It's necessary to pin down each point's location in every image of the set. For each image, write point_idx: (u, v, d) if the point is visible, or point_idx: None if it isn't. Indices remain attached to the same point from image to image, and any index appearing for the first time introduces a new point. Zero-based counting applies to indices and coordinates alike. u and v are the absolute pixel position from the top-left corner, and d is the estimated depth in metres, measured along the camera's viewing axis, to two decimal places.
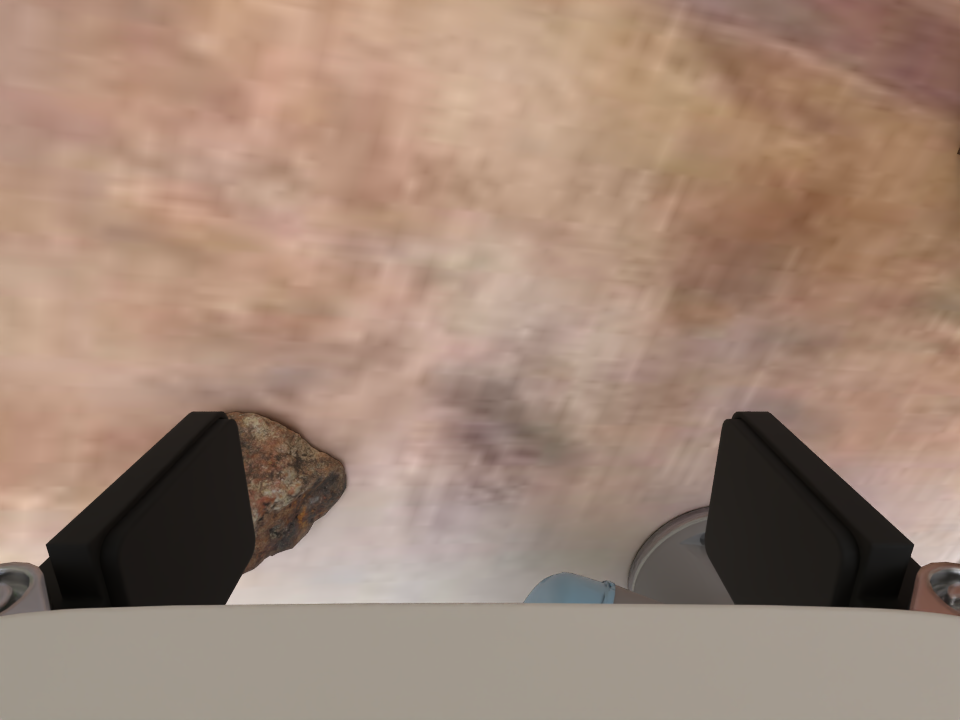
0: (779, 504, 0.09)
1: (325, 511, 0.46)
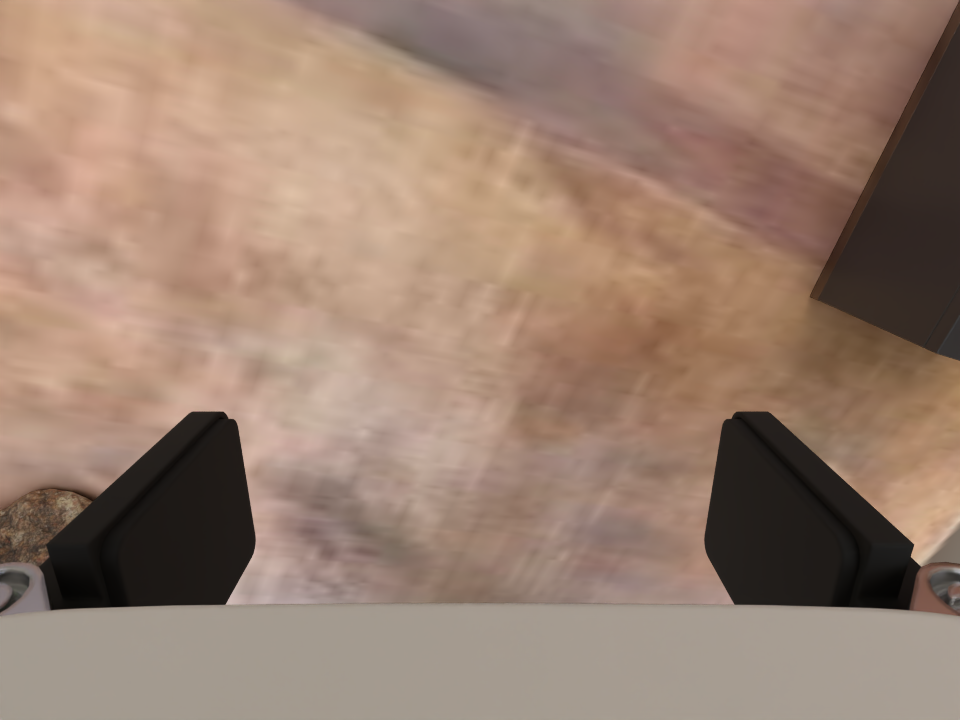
0: (779, 504, 0.09)
1: None
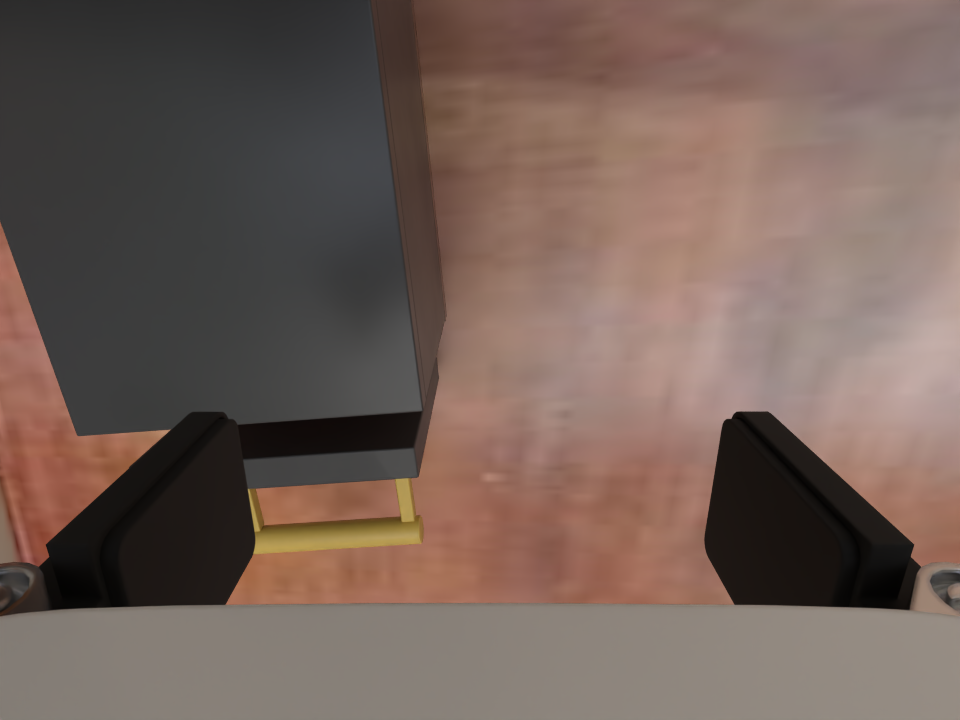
0: (779, 504, 0.09)
1: None
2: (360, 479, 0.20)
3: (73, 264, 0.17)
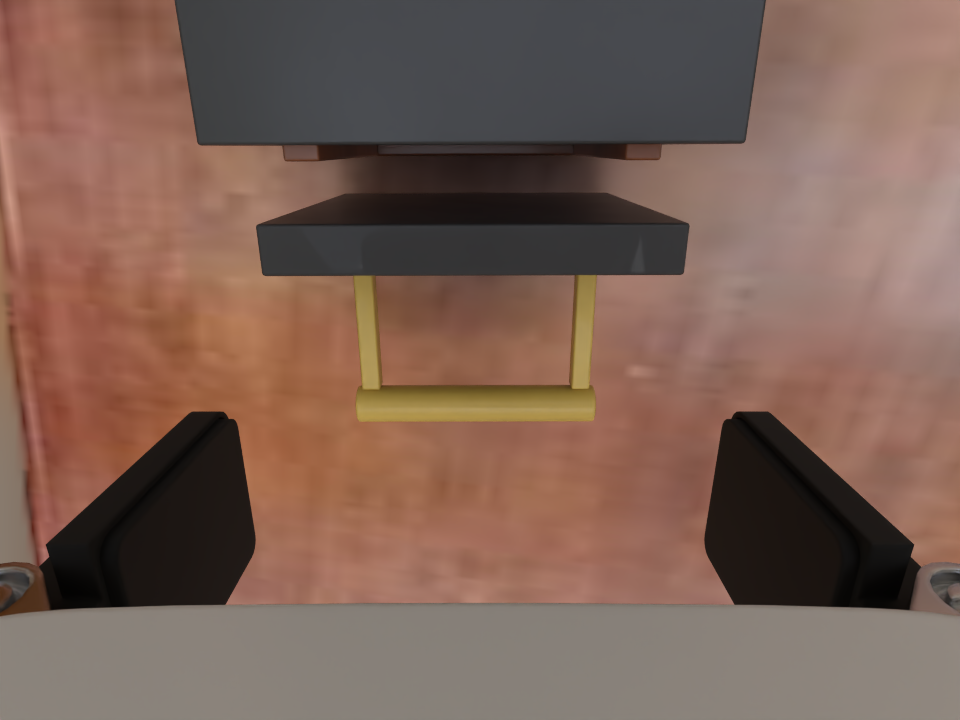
0: (779, 504, 0.09)
1: None
2: (598, 271, 0.14)
3: None
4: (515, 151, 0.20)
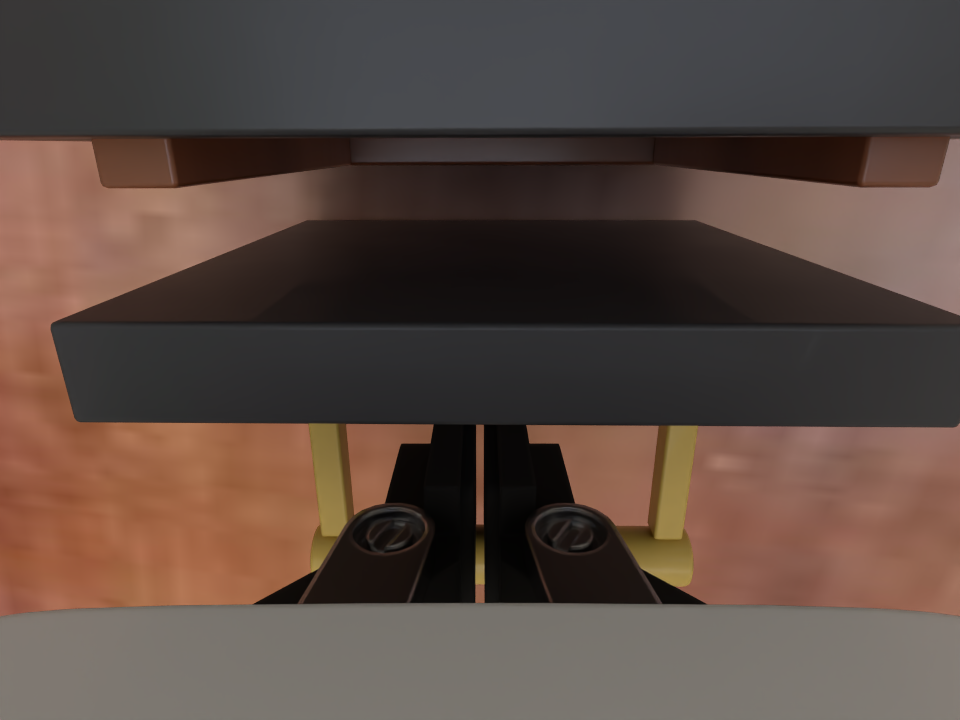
0: None
1: None
2: (778, 419, 0.06)
3: None
4: (563, 158, 0.13)
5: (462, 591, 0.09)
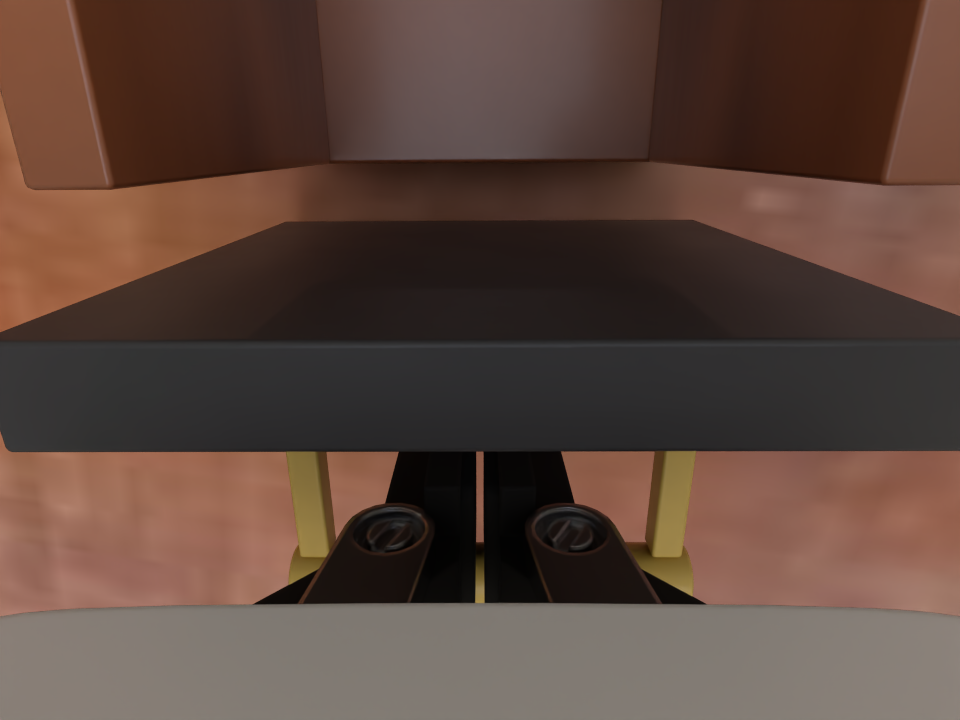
0: None
1: None
2: (791, 443, 0.06)
3: None
4: (554, 155, 0.12)
5: (462, 591, 0.09)
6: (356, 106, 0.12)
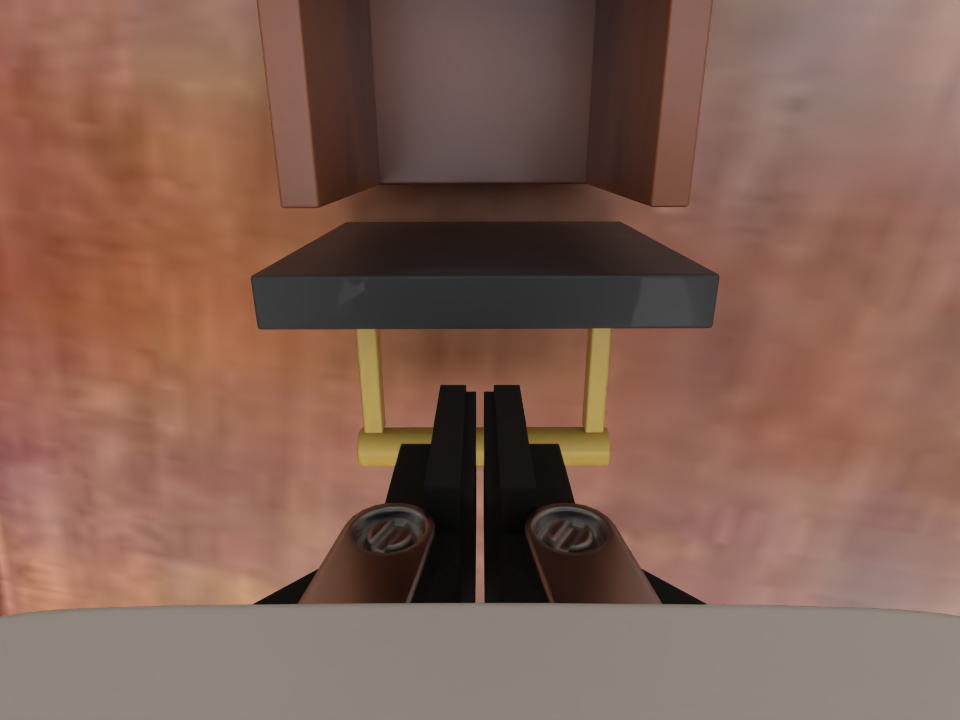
0: None
1: None
2: (621, 324, 0.13)
3: None
4: (525, 180, 0.19)
5: (462, 591, 0.09)
6: (398, 148, 0.19)
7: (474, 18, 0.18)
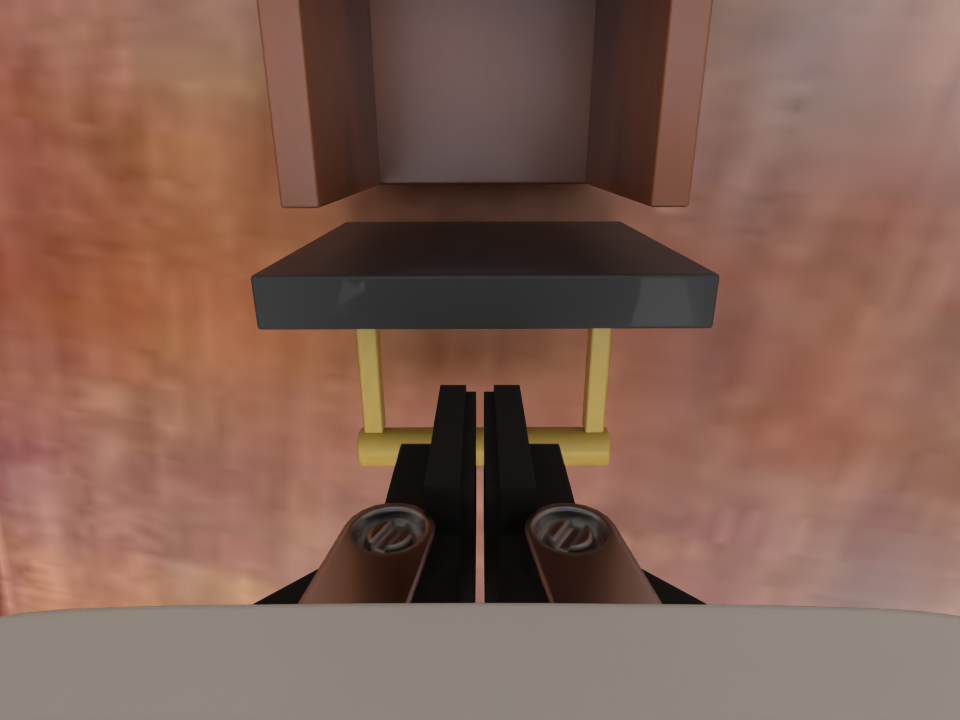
0: None
1: None
2: (621, 324, 0.13)
3: None
4: (525, 180, 0.19)
5: (462, 591, 0.09)
6: (398, 148, 0.19)
7: (474, 18, 0.18)
